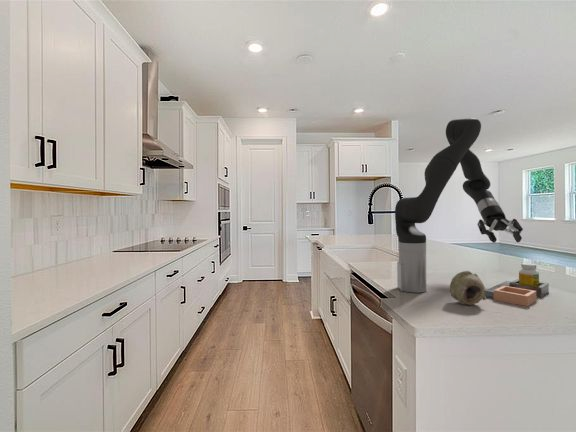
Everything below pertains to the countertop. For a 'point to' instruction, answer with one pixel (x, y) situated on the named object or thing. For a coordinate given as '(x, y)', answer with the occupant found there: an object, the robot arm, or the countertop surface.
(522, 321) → the countertop surface
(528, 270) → the supplement bottle
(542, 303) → the countertop surface
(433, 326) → the countertop surface
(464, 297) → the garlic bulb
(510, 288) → the marked socket
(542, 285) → the rail
